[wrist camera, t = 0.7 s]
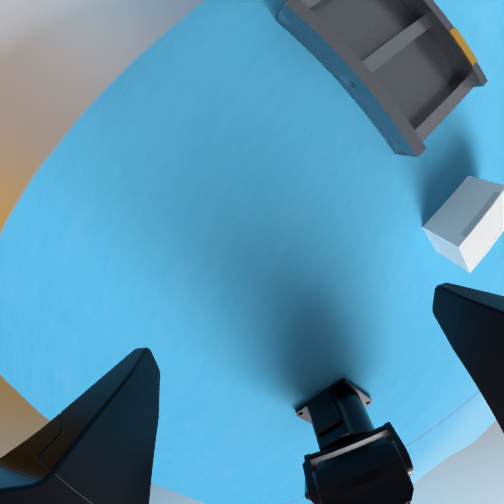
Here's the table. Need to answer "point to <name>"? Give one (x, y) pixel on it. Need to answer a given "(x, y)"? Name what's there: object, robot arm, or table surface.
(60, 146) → the table surface
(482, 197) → the white rectangular block
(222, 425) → the table surface
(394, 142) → the grey divided tray
